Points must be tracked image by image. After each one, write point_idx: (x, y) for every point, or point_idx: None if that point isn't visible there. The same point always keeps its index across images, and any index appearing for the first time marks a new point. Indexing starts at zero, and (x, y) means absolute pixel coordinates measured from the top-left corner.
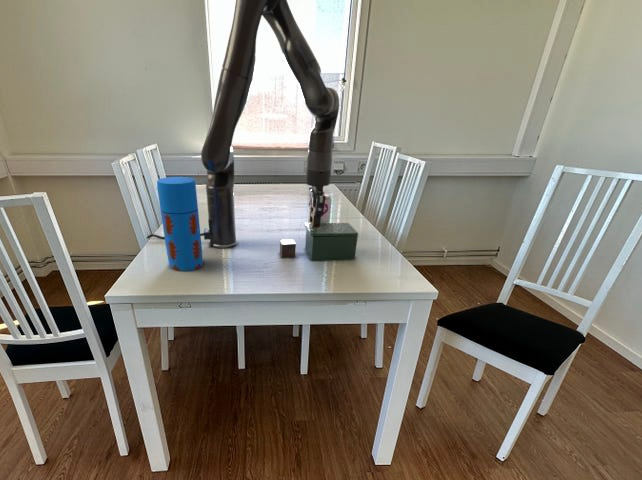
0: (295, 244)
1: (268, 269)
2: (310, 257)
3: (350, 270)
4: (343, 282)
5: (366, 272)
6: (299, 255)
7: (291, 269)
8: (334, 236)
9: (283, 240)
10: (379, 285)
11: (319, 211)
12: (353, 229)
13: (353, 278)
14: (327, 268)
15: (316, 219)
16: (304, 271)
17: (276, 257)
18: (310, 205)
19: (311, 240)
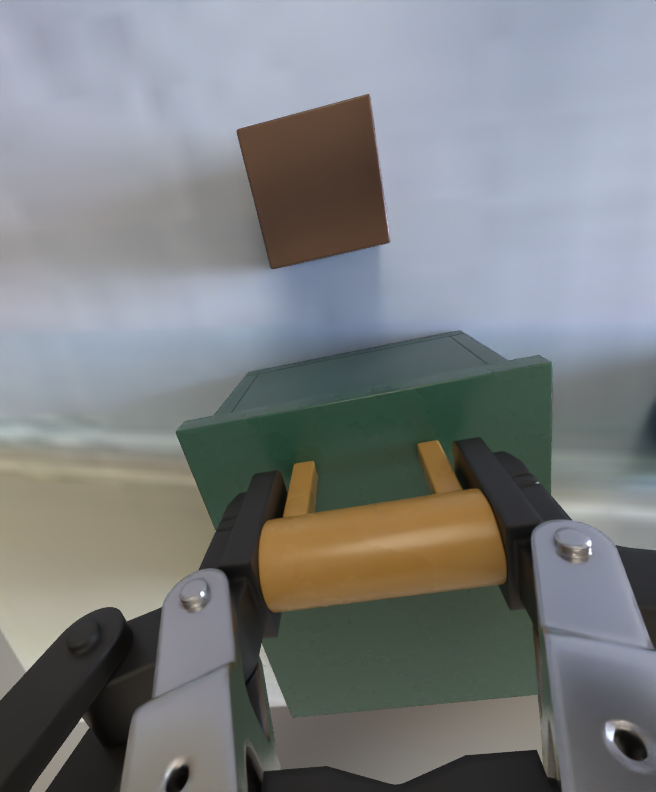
0: (271, 267)
1: (18, 75)
2: (281, 367)
3: (161, 543)
4: (13, 508)
5: (158, 596)
6: (331, 294)
7: (77, 252)
8: None
9: (353, 135)
10: (42, 619)
11: (83, 717)
12: (373, 705)
13: (74, 547)
14: (156, 451)
15: (211, 560)
16: (74, 334)
17: (268, 115)
18: (579, 597)
19: (263, 406)
